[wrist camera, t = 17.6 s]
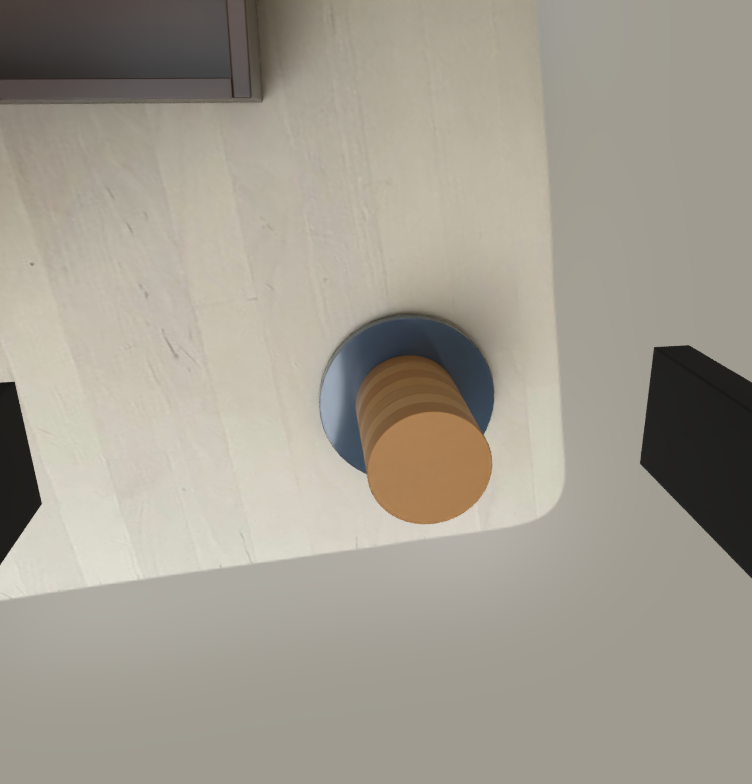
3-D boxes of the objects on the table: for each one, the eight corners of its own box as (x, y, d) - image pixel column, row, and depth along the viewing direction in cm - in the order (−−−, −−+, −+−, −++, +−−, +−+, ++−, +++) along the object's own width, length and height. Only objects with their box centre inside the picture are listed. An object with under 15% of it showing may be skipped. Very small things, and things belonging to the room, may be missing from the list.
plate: (494, 311, 48) (498, 315, 47) (486, 470, 52) (489, 477, 51) (315, 317, 47) (316, 321, 46) (322, 479, 51) (322, 485, 50)
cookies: (459, 352, 48) (495, 408, 38) (455, 447, 50) (489, 521, 41) (354, 357, 47) (366, 414, 38) (356, 452, 49) (368, 528, 40)
